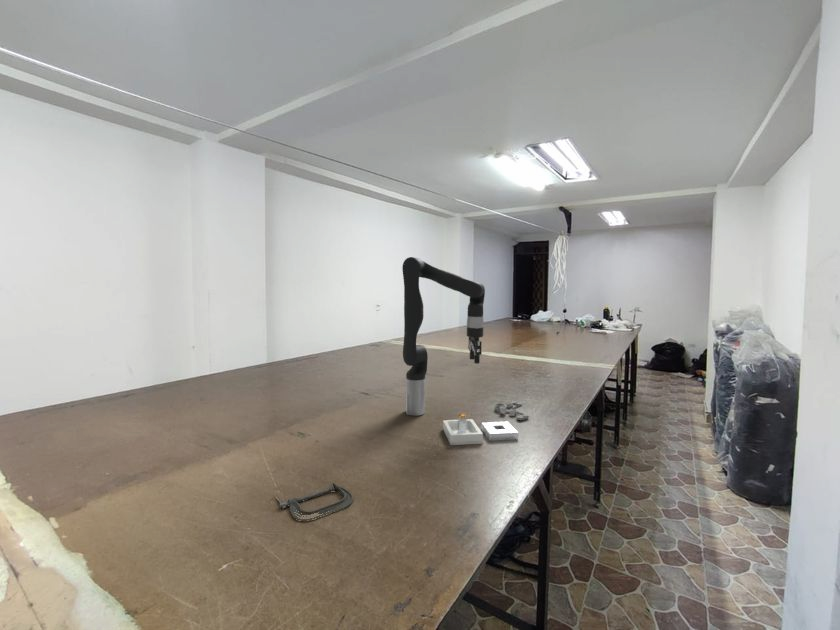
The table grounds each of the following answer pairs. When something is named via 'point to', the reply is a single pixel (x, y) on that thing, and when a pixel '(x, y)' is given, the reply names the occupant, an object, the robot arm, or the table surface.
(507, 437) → the block
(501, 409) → the pulley system
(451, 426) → the parts tray
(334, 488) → the c clamp
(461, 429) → the lock pin
